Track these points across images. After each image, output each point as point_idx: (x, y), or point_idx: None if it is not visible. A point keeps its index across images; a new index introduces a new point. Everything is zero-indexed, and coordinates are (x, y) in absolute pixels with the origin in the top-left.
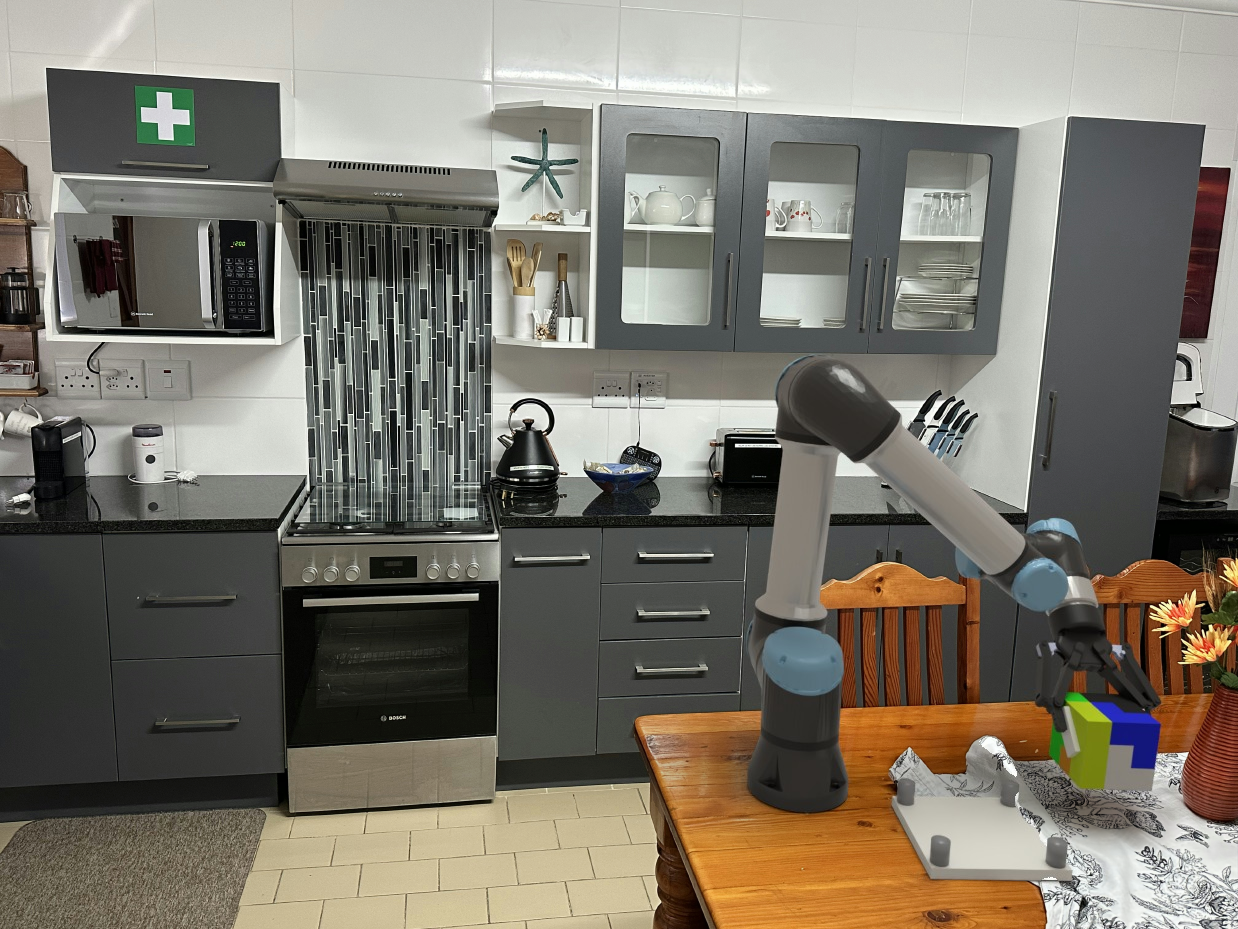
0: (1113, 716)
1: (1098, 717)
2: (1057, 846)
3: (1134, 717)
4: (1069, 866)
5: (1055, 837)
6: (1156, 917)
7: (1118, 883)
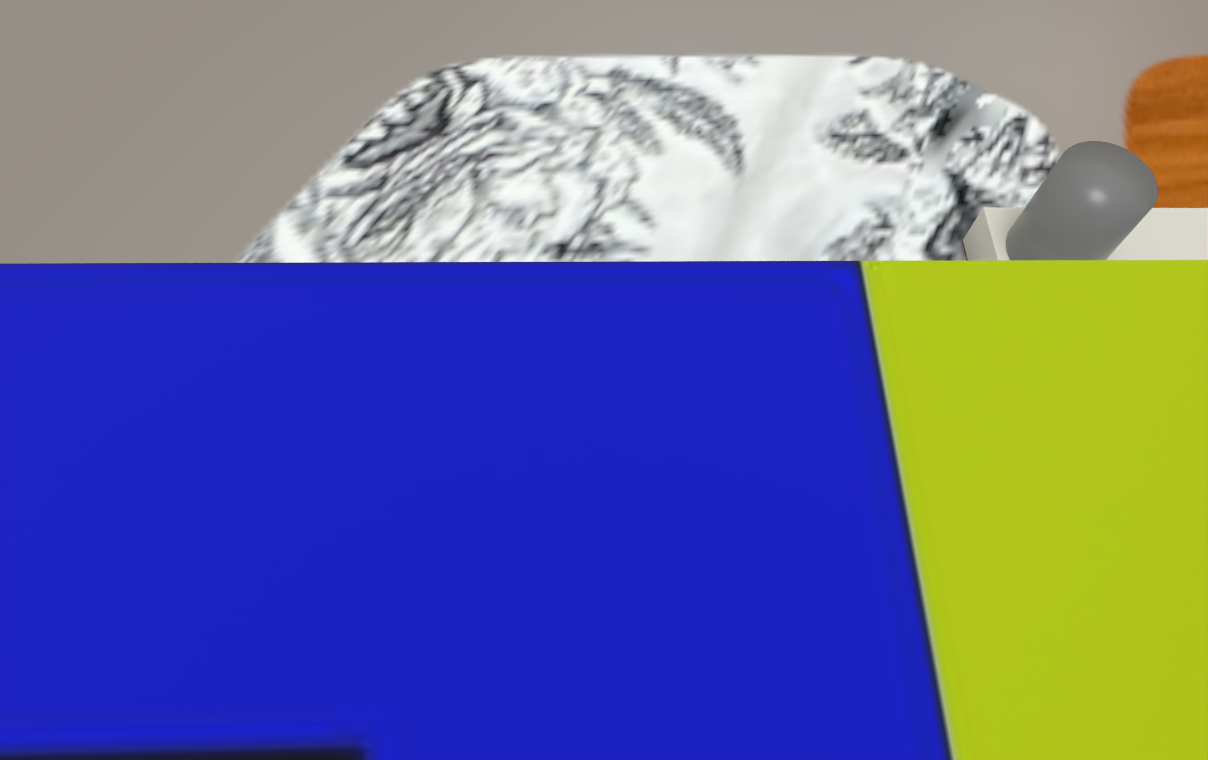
0: (732, 511)
1: (1069, 431)
2: (1114, 147)
3: (280, 507)
4: (991, 230)
5: (1112, 212)
6: (703, 60)
7: (760, 232)
